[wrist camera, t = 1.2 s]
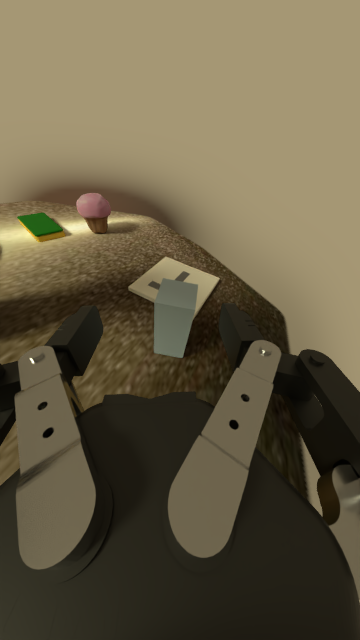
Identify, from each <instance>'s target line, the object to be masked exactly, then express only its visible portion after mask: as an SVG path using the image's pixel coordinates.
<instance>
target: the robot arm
mask: <svg viewBox="0 0 360 640" xmlns="http://www.w3.org/2000/svg"><path fill="white" fill-rule="evenodd" d="M219 332H220V335H221V338H222V341H223V344H224V347H225V349H226V352H227V355H228V358H229V361H230V364H231V367H232V370H233V371H235V372H234V374H233V376H232V377H231V379H230V381H229V383H228V385H227V387H226V389H225V390H224V392H223V394H222V396H221V398H220V400H219V401H218V403H217V405H216V407H215V406H213V405H211V404H210V403H208V402H206V401H203V400H200V399H196V393H195V392H173V393H170V394H166V395H163V396H159V397H155V398H152V399H147V398H143V397H138V396H134V395H129V394H117V395H105V396H104V399H103V402H102V403H99V404H97V405H94V406H92V407H90V408H88V409H87V410H85V411H84V409H83V407H82V405H81V402H80V399H79V397H78V394H77V392H76V389H75V387H74V384H73V382H72V379H73V377H74V376H83V374H84V372H85V370H86V368H87V366H88V364H89V362H90V359H91V357H92V355H93V353H94V351H95V349H96V347H97V345H98V343H99V341H100V338H101V336H102V334H103V325H102V321H101V318H100V315H99V312H98V309H97V307H96V306H81V307H80V309H79V310H78V311H77V313H76V314H73V315H71V316H70V317H68V318H67V319H66V320H65V321H64V322H63V323H62V325H61V326H60V327H59V328H58V330H57V331H56V332H55V333H54V334H53V336H52V337H51V338H50V339H49V341H48V342H47V343H46V344H45V345H44V346H40V347H37V348H34V349H31V350H30V351H28V352H26V353H25V354H24V355H23V356H22V357H21V358H20V359H19V361H16V362H12V363H7V364H3V365H1V364H0V446H1V444H2V442H3V441H4V439H5V437H6V436H7V434H8V433H9V431H10V429H11V428H12V426H13V424H14V423H15V421H16V423H17V436H18V448H19V460H20V468H19V469H18V470H17V471H16V472H15V473H14V474H13V475H12V476H11V477H9V478H8V479H7V480H6V481H5V482H4V483H3V484H2V485H1V486H0V640H360V603H359V599H360V392H359V391H358V390H357V389H356V387H355V386H354V385H353V384H352V383H351V382H350V381H349V379H348V378H347V377H346V376H345V375H344V374H343V373H342V371H341V370H340V369H339V368H338V367H337V366H336V365H335V363H334V362H333V361H332V360H331V359H330V358H329V357H328V356H326V355H324V354H323V353H321V352H318V351H315V350H309V349H307V350H303V351H301V352H300V354H299V356H296V355H291V354H286V353H282V352H281V351H280V349H279V348H278V347H277V346H276V345H274V344H273V343H271V342H268V341H265V340H264V338H263V336H262V335H261V333H260V332H259V330H258V328H257V327H256V326H255V324H254V322H252V319H251V317H250V316H249V315H248V314H247V313H246V312H244V311H239V309H238V307H237V306H236V304H235V303H223V304H222V307H221V313H220V319H219ZM271 393H276V394H280V395H282V397H283V399H284V401H285V403H286V405H287V407H288V409H289V411H290V413H291V415H292V417H293V420H294V422H295V424H296V426H297V428H298V430H299V432H300V434H301V436H302V438H303V440H304V443H305V445H306V447H307V449H308V451H309V453H310V455H311V457H312V459H313V461H314V463H315V465H316V468H317V470H318V472H319V474H320V476H321V477H320V478H319V479H318V482H317V492H318V495H319V499H320V504H321V506H322V511H323V517H322V516H321V515H320V514H319V513H318V511H317V510H316V509H315V508H314V507H313V506H312V505H311V504H310V503H309V502H308V501H307V500H306V499H305V498H304V497H303V496H302V495H301V493H300V492H299V491H298V490H297V489H296V488H295V487H294V486H293V485H292V484H291V483H290V482H289V481H288V480H287V479H286V478H285V477H284V476H283V475H282V474H281V473H280V472H279V471H278V470H277V469H276V468H275V467H274V466H273V465H272V464H271V463H270V462H269V461H268V459H267V458H266V457H265V456H264V455H263V454H262V453H261V452H260V451H259V450H258V449H257V448H256V447H255V445H256V442H257V439H258V436H259V432H260V429H261V426H262V422H263V419H264V416H265V412H266V409H267V406H268V403H269V399H270V396H271ZM315 396H316V397H317V398H316V397H315ZM317 399H318V400H317ZM319 402H320V403H319ZM321 405H322V406H321Z"/></svg>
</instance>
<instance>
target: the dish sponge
mask: <svg viewBox="0 0 360 640" xmlns="http://www.w3.org/2000/svg"><path fill="white" fill-rule="evenodd" d="M17 218H18V220H19V221H20V223H21V225H22V226H23V227H24V228H25V229H26V230H27V231H28V232H29V233H30V234H31V235H32V236H33V237H34V238H35V239H36V240H37V241H38V242H43V241H47V240H52V239H56V238H60V237H64V236H65V233H64V231H63V229H62V228H61V227H60V226H59V225H58V224H56V223H55V222H54V221H53V220H52V219H51V218H49V217H48V216H47V215H46V214H45V213H37V214H31V215H24V216H18V217H17Z"/></svg>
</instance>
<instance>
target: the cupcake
mask: <svg viewBox="0 0 360 640" xmlns="http://www.w3.org/2000/svg"><path fill="white" fill-rule="evenodd" d="M77 210H78V212H79V213H80V215H81V216H82V217H84V219H85V220H86V222H87V224H88V226H89V228H90V229H91V230H92V232H94V233H97V232H101V233H105V232H106V230H107V227H108V224H107V218H108V216H109V215H110V213H111V209H110V205H109V203H108V201H107V200H106V199H104V198H103V197H102V196H101V195H100V194H97V193H88V194H84V195H82V196H81V197H80V198H79V199H78V200H77Z"/></svg>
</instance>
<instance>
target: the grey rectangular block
mask: <svg viewBox="0 0 360 640" xmlns="http://www.w3.org/2000/svg"><path fill="white" fill-rule="evenodd" d="M197 291H198V284H192V283H187V282H181V281H176V280H171V279H165V278H163V279H162V282H161V285H160V288H159V291H158V294H157V297H156V299H155V302H154V353H158V354H163V355H169V356H174V357H179V358H183V355H184V351H185V347H186V343H187V339H188V336H189V332H190V328H191V324H192V320H193V317H194V313H195V308H196V300H197Z"/></svg>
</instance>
